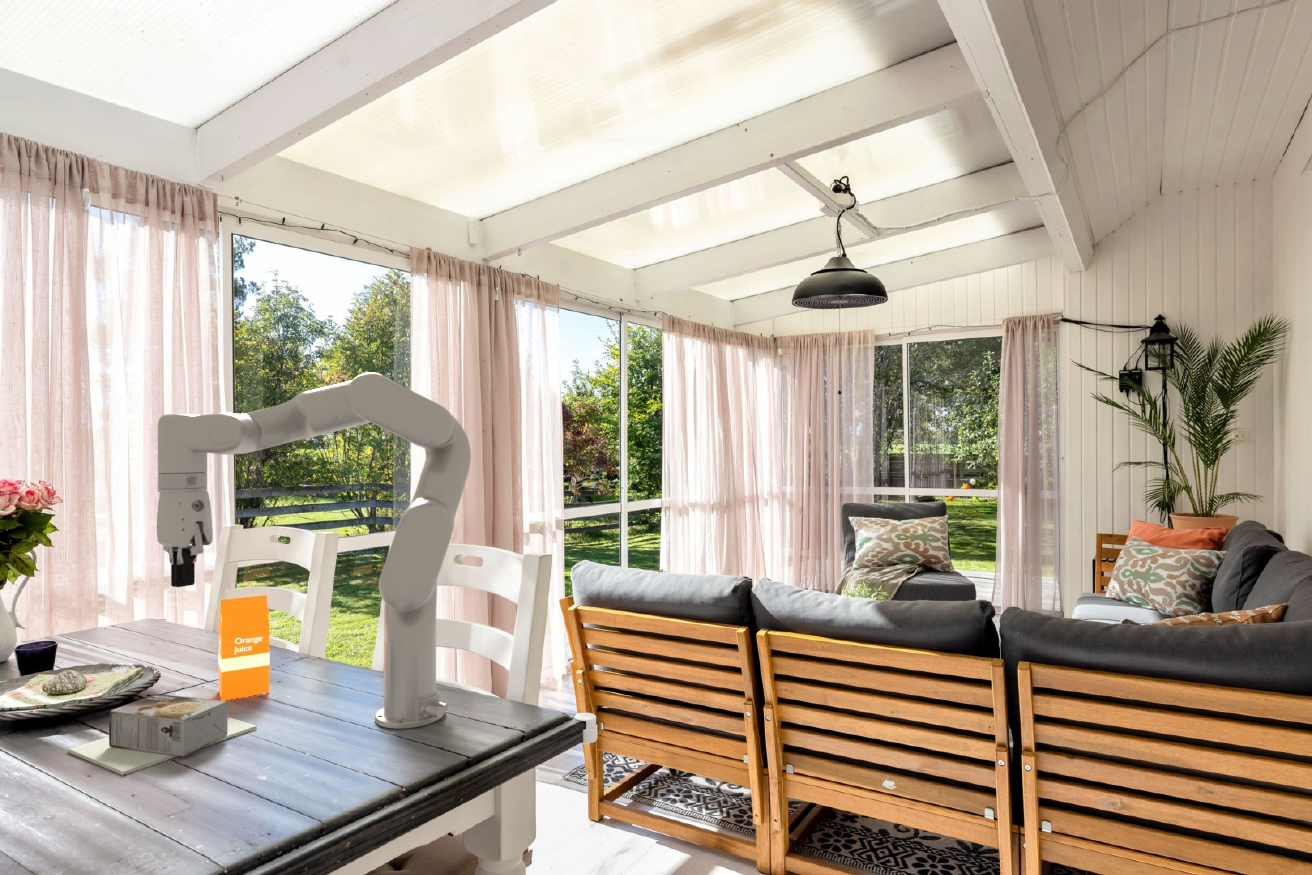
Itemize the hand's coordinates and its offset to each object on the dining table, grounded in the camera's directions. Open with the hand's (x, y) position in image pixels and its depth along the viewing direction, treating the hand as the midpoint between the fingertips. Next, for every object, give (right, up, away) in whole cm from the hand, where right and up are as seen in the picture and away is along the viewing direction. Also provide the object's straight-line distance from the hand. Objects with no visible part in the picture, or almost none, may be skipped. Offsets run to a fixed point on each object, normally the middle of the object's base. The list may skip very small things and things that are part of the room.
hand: (183, 585), depth 134 cm
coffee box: (+8, -23, -6) cm, 25 cm away
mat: (-2, -27, -2) cm, 27 cm away
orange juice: (-2, -28, +24) cm, 37 cm away
